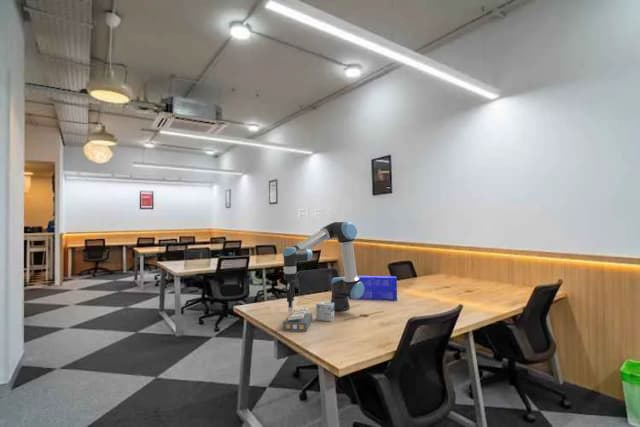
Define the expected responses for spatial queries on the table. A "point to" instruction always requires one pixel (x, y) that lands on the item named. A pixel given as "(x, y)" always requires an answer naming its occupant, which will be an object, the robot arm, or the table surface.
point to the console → (298, 323)
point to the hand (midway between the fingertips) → (290, 312)
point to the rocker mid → (299, 312)
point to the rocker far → (301, 309)
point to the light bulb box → (325, 311)
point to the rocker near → (295, 316)
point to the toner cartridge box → (379, 287)
